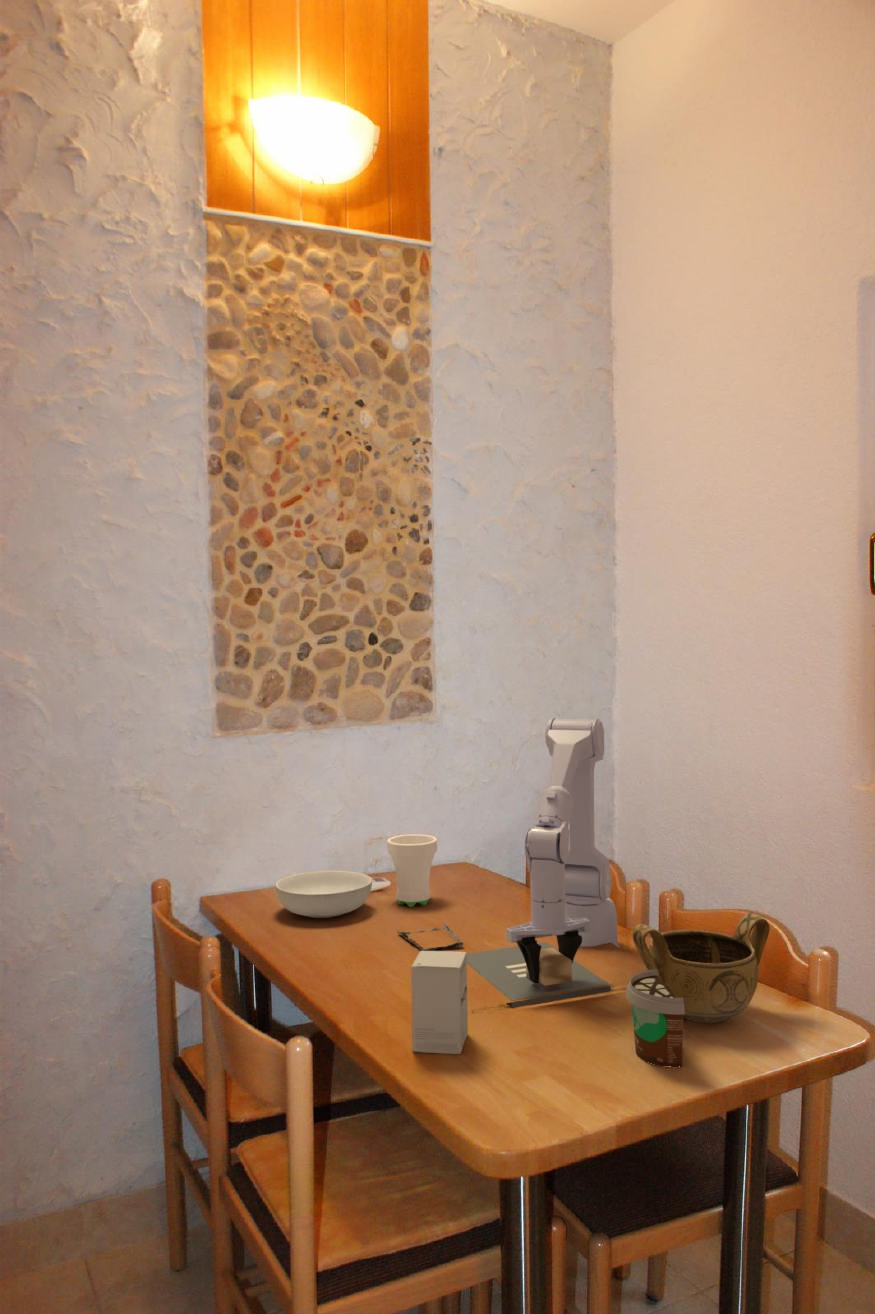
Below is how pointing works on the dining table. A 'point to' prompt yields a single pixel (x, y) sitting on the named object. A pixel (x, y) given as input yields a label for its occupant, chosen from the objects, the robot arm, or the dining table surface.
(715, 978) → the ceramic bowl
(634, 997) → the food container
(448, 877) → the dining table surface
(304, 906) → the cream oval piece
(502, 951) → the slate board
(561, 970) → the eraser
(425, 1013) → the supplement box
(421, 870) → the cup
